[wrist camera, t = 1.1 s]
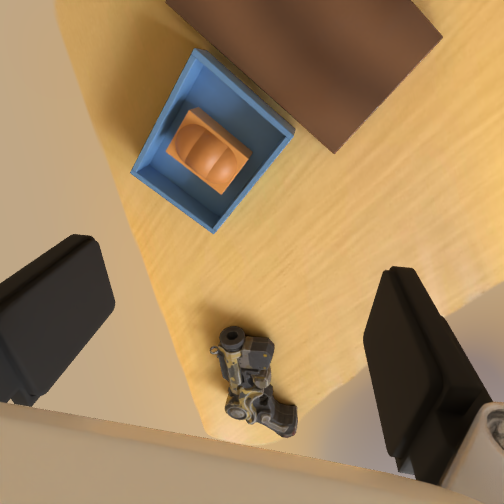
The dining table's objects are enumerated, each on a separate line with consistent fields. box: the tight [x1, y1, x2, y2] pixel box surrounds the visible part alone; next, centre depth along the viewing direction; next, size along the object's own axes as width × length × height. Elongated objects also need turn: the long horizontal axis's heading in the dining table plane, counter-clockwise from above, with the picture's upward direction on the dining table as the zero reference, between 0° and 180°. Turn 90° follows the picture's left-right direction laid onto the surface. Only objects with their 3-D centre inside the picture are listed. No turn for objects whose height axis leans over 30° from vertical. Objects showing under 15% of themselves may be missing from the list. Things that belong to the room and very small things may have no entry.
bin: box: [130, 48, 295, 234], centre depth 34 cm, size 15×12×4 cm
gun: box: [210, 326, 298, 438], centre depth 55 cm, size 5×26×15 cm
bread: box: [166, 107, 253, 195], centre depth 33 cm, size 5×8×5 cm
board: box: [165, 0, 443, 154], centre depth 27 cm, size 13×22×2 cm, turn 53°
